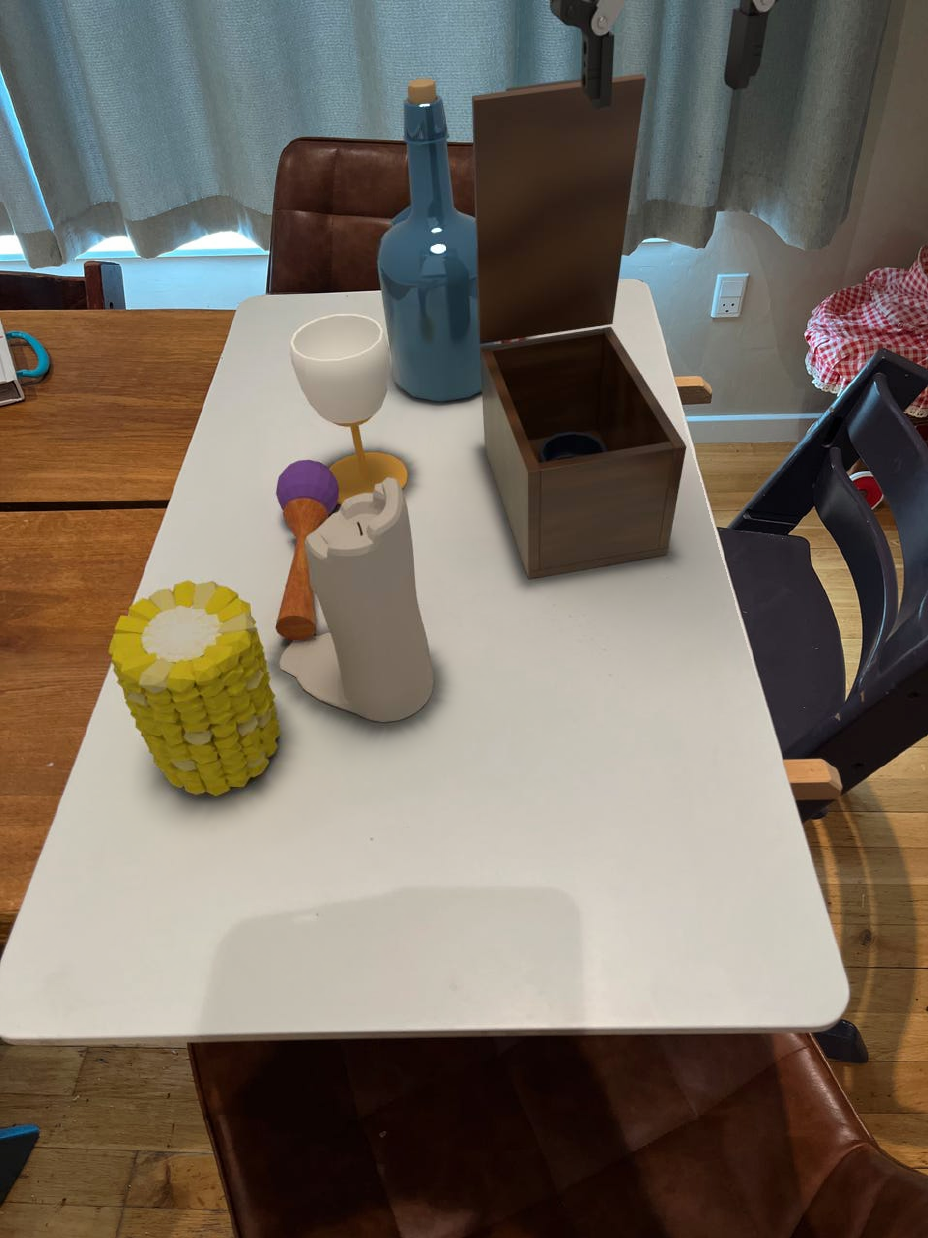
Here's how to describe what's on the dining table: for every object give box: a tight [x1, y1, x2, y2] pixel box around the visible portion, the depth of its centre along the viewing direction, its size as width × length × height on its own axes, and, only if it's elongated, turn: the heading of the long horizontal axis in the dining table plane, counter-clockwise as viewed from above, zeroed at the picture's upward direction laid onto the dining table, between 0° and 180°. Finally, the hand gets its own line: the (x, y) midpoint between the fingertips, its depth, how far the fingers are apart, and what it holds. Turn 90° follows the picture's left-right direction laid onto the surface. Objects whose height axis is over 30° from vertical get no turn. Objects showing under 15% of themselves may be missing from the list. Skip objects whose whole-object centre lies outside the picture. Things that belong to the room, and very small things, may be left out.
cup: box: [289, 313, 409, 506], centre depth 76 cm, size 9×9×16 cm
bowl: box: [538, 431, 608, 463], centre depth 75 cm, size 6×6×5 cm
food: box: [108, 579, 281, 797], centre depth 55 cm, size 15×12×10 cm
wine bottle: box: [375, 77, 502, 403], centre depth 83 cm, size 14×13×30 cm
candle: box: [279, 477, 435, 723], centre depth 57 cm, size 7×14×20 cm, turn 65°
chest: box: [480, 326, 687, 580], centre depth 73 cm, size 20×13×12 cm, turn 10°
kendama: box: [275, 459, 339, 641], centre depth 72 cm, size 6×6×20 cm
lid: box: [471, 73, 647, 344], centre depth 67 cm, size 21×13×5 cm
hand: (668, 95), depth 48 cm, fingers open, 8 cm apart
